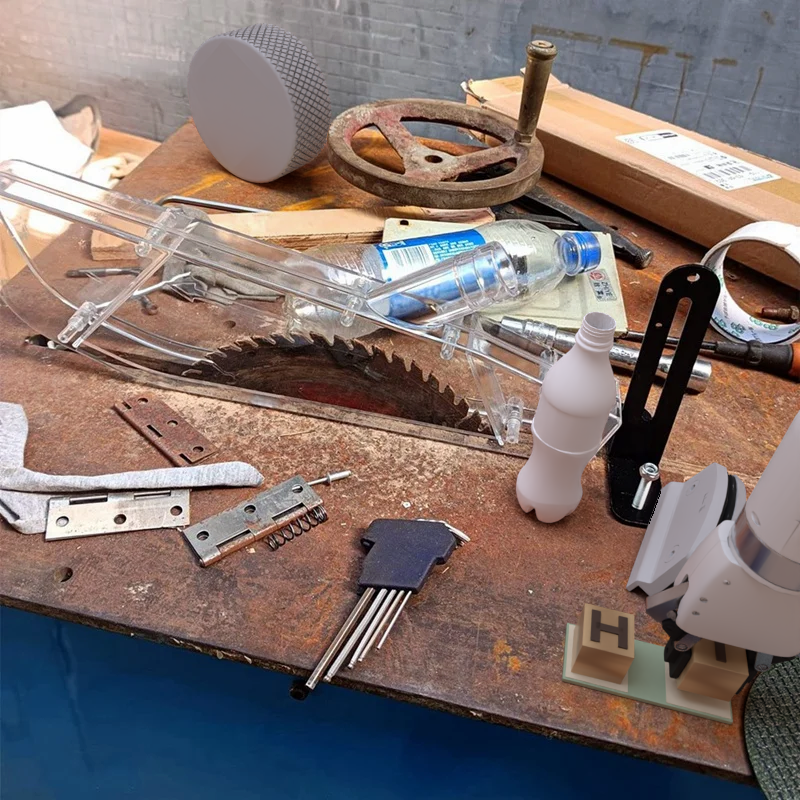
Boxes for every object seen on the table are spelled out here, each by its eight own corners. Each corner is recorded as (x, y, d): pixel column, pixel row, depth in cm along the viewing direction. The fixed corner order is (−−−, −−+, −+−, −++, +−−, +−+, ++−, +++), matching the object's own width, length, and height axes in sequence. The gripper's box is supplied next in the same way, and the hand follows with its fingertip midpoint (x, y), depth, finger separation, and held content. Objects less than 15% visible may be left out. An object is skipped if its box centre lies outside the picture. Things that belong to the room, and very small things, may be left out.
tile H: (621, 641, 71) (635, 613, 68) (620, 684, 68) (635, 656, 65) (573, 630, 72) (585, 601, 69) (570, 672, 69) (582, 643, 66)
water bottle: (570, 483, 88) (631, 302, 71) (580, 531, 82) (648, 347, 66) (509, 478, 87) (555, 295, 71) (515, 527, 82) (566, 341, 66)
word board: (725, 664, 71) (727, 661, 71) (731, 724, 67) (733, 721, 66) (566, 625, 73) (567, 621, 73) (561, 681, 69) (563, 677, 68)
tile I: (724, 657, 69) (744, 628, 66) (729, 702, 66) (750, 674, 63) (674, 644, 70) (691, 615, 67) (676, 688, 66) (695, 660, 63)
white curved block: (661, 487, 88) (720, 439, 81) (695, 511, 88) (757, 466, 81) (624, 590, 76) (688, 546, 69) (663, 619, 76) (731, 577, 69)
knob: (330, 183, 142) (333, 41, 126) (296, 201, 135) (294, 54, 119) (229, 145, 151) (219, 9, 135) (192, 161, 144) (178, 19, 128)
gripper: (894, 531, 58) (792, 659, 69) (669, 480, 60) (608, 613, 72) (922, 613, 52) (806, 737, 64) (673, 553, 54) (606, 684, 66)
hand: (702, 670), depth 68 cm, fingers closed on tile I, 4 cm apart
